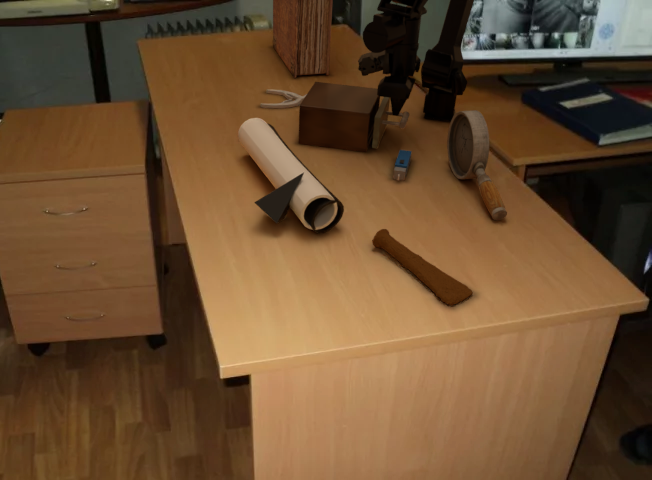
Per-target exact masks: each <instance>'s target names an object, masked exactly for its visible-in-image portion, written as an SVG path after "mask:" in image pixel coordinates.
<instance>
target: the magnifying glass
mask: <svg viewBox="0 0 652 480" xmlns="http://www.w3.org/2000/svg"><path fill="white" fill-rule="evenodd" d="M446 143H447V145H446V147H447V156H448V163H449V167H450V170H451V172H452V173H453V175H454V176H455V177H456V179H458V180H473V179H477V180H476V182H477V185H478V188H479V192H480V196H481V198H482V200H483V202H484V205H485V207H486V209H487V211H488V212H489V214H490V216H491V218H492V219H493V220H494V221H500V220H503V219H505V218H506V217H507V215H508V211H507V210H506V206H505V204H504V201H503V198H502V196H501V195H500V193H499V190H498V188H497V187H496V185H495V184H494V183H493V180H492V179H491V178H490V176H489V175H488V174H487V173H486V172H485V171H486V168H487V166H488V161H489V155H490V133H489V128H488V124H487V120H486V119H485V117H484V115H483V114H482V113H481V111H479V110H475V109H474V110H473V109H472V110H459V111H457V112H455V113H454V116H453V118H452V120H451V121H450V123H449V126H448V131H447V142H446Z"/></svg>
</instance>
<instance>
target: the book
mask: <svg viewBox="0 0 652 480" xmlns="http://www.w3.org/2000/svg"><path fill="white" fill-rule="evenodd" d="M332 17H333V0H272V47H273V49H274V50H275V52H276V53H277V55H278V56H279V58H280V59H281V60H282V62H283V64H284V65H285V66H286V68H287V70H288V71H289V73H290V74H291V76H292V77H293V79H296V78H297V76H307V75H309V76H310V75H321V74H325V75H326V76H329V75H330V59H331V57H330V56H331V38H332V19H333V18H332Z"/></svg>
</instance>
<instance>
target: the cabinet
mask: <svg viewBox="0 0 652 480" xmlns="http://www.w3.org/2000/svg"><path fill="white" fill-rule="evenodd" d="M377 90H378V88H376V87H367V86H358V85H348V84H339V83H331V82H322V81H315V82H314V83H313V84H312V86H311V87H310V89H309V91H308V92H307V93H306V94H307V95H306V96H305V98H304V99H303V101H302V102H301V104H300V105H299V107H298V108H299V109H298V110H299V111H298V112H299V113H298V115H299V116H298V144H299V145H300V144H301V145H308V146H313V147H314V146H315V147H322V148H328V149H329V148H330V149H338V150H346V151H353V152H361V153H367V152H368V149H369V147H370V145H371V142H372V141H373V131H374V128H373V130H372V132H371V135H370V137H369V139H368V132H369V121H370V114H371V112H372V110H373V108H374V106H375V103H376V101H377V99H378V102H377V111H378V109H379V107H380V104H381V96H378V95H377Z"/></svg>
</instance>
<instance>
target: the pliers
mask: <svg viewBox="0 0 652 480" xmlns="http://www.w3.org/2000/svg"><path fill="white" fill-rule="evenodd" d="M265 93H266V94H271V95H272V94H273V95H280V96H283V97H284V98H286V99H285V100H283V101H281V102H278V103H265V102H264V103H263V102H261V103H260V104H259V107H260V108H263V109H265V108H266V109H288V108H295V107H298V106H300V104H301V102H302V101H303V99H304V98H305V96H306V95H307V93H306V94H304V95H300V94H298V93H296V92H293V91H288V90H284V89H269V88H268V89H266V90H265Z"/></svg>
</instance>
